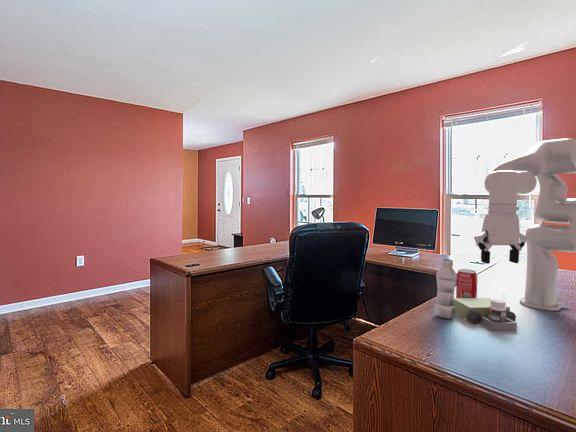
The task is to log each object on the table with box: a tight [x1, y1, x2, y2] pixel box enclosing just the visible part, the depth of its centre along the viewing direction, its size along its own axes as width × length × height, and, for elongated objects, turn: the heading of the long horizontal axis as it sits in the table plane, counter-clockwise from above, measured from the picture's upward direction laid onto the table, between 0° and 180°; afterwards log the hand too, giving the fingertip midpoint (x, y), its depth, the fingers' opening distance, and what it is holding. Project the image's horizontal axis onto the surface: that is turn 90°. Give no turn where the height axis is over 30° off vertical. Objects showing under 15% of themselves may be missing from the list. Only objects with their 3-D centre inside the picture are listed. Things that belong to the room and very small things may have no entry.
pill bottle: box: [488, 298, 507, 322], centre depth 105 cm, size 5×5×8 cm
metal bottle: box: [434, 258, 457, 320], centre depth 112 cm, size 6×7×20 cm
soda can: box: [455, 268, 478, 298], centre depth 128 cm, size 7×7×13 cm
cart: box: [454, 297, 518, 332], centre depth 111 cm, size 16×19×5 cm
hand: (499, 262), depth 105 cm, fingers open, 9 cm apart
